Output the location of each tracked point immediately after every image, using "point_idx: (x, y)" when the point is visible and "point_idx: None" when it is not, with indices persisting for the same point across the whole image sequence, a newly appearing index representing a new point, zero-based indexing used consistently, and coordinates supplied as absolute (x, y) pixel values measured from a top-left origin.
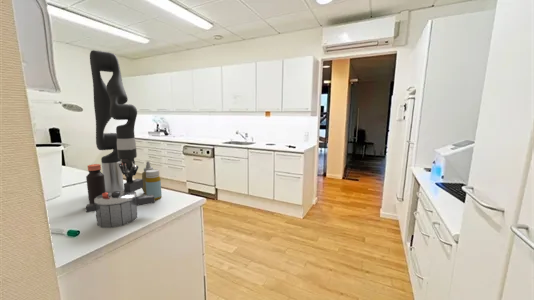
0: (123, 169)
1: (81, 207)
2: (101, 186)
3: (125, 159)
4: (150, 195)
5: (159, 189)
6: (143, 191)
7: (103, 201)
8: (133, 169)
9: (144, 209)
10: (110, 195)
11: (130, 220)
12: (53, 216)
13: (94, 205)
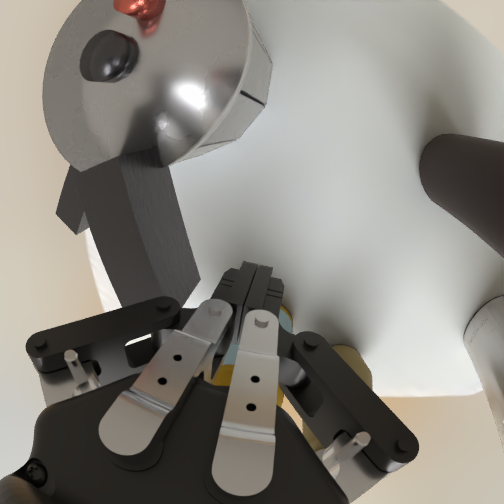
0: (260, 377)
1: (489, 133)
2: (478, 195)
3: None
4: (74, 217)
5: None
6: (355, 353)
7: None
8: (52, 335)
9: (185, 205)
10: (159, 39)
11: None
12: (485, 38)
13: None
